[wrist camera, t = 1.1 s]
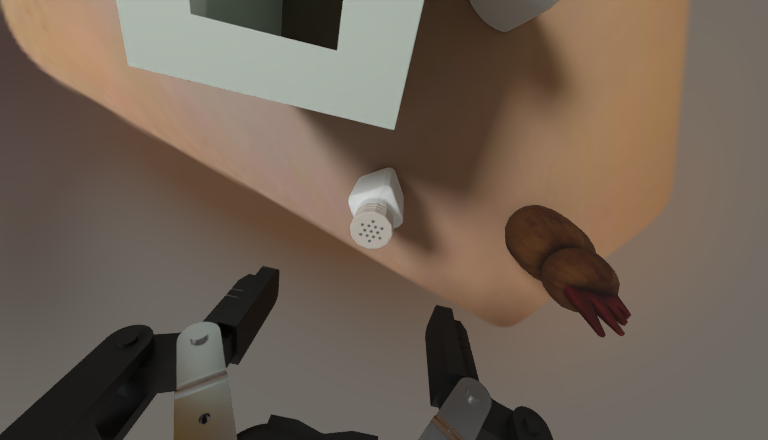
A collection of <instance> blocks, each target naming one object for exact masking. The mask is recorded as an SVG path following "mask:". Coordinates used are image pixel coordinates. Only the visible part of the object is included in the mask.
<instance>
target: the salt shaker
mask: <svg viewBox="0 0 768 440" xmlns="http://www.w3.org/2000/svg"><path fill="white" fill-rule="evenodd" d="M349 206H350V209H351V212H352V214H353V217H354V218H353V220H352V223H351V225H350V230H351V236H352V238H353V239H354V240H355V241H356V243H357V244H358V245H360V246H362V247H365V248H367V249H379V248H381V247H383V246H384V245H386V244H388V242H389V241H390V239H391V237H392V235H393V229H394V228H397V227H399V226H400V225H401V224H402V223H403V206H404V196H403V193H402V190H401V187H400V184H399V181H398V178H397V175H396V172H395V171H394V169H393V168H385V169H381V170H378V171H375V172H372V173H369V174H366V175H363V176H361V177H360V178H359V179H358V180H357V182H356V184H355V186H354V188H353V190H352V192H351V194H350V196H349Z"/></svg>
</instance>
